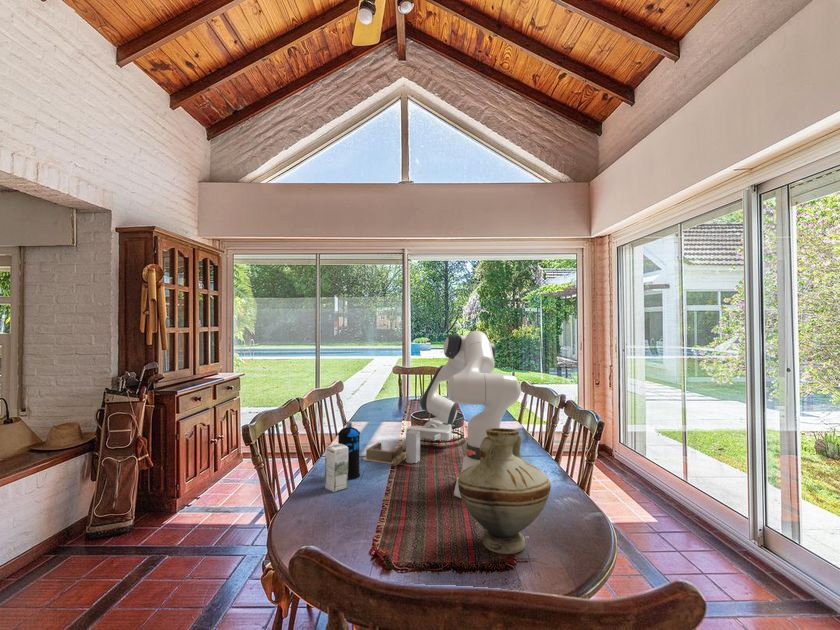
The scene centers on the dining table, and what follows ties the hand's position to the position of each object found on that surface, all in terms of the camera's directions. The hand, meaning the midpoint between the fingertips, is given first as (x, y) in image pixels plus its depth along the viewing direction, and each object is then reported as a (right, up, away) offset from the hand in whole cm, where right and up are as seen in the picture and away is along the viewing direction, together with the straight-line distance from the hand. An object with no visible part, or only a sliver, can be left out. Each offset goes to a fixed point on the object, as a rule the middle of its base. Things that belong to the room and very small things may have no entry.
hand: (423, 437), depth 195 cm
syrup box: (-30, -7, -40) cm, 50 cm away
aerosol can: (-28, -7, -28) cm, 40 cm away
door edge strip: (-9, -7, -9) cm, 14 cm away
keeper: (-16, -7, -5) cm, 18 cm away
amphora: (+20, -7, -77) cm, 80 cm away
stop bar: (-4, -7, -11) cm, 14 cm away
